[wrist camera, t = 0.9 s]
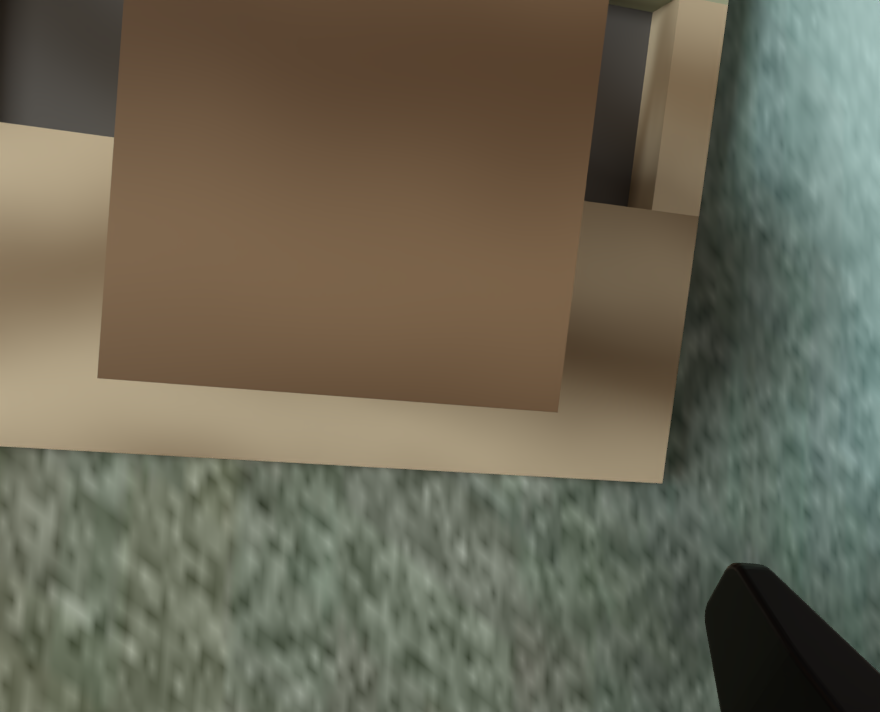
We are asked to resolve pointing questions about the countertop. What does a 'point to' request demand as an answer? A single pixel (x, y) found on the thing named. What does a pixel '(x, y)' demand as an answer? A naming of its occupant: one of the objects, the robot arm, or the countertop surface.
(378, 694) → the countertop surface
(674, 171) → the trap board
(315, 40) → the walnut block
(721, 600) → the robot arm
